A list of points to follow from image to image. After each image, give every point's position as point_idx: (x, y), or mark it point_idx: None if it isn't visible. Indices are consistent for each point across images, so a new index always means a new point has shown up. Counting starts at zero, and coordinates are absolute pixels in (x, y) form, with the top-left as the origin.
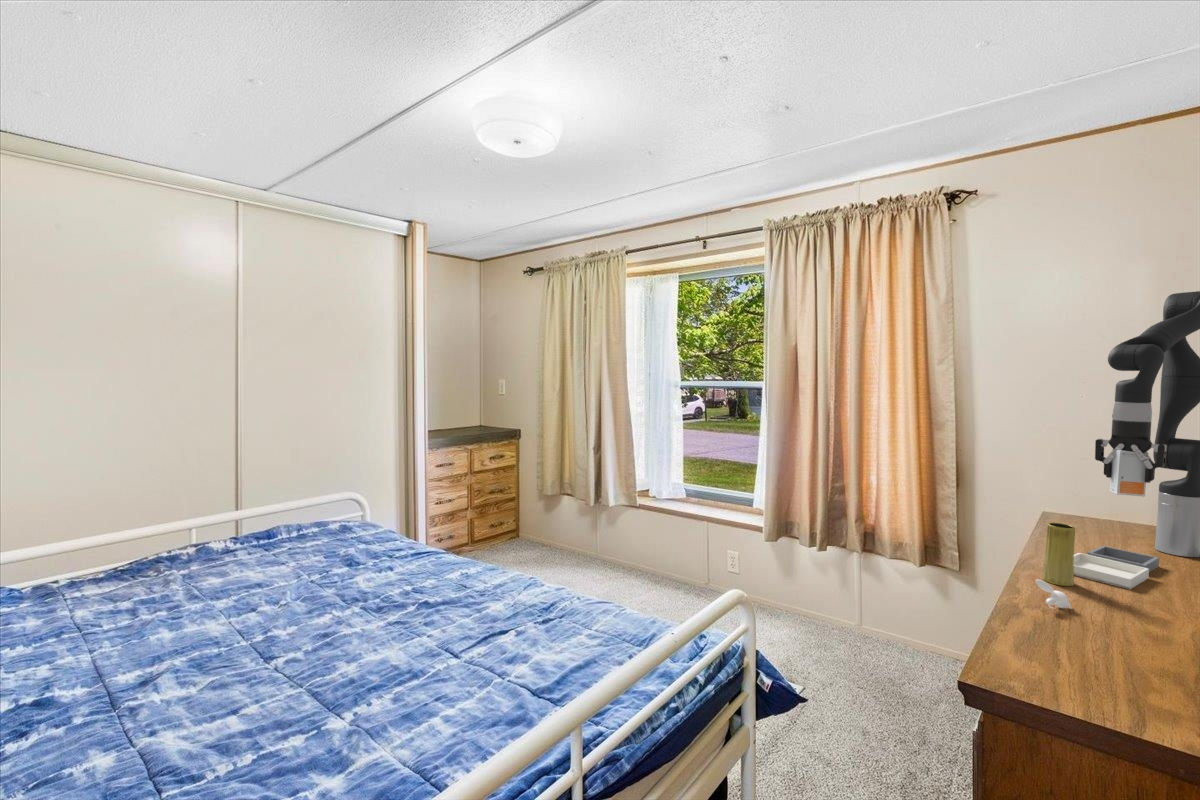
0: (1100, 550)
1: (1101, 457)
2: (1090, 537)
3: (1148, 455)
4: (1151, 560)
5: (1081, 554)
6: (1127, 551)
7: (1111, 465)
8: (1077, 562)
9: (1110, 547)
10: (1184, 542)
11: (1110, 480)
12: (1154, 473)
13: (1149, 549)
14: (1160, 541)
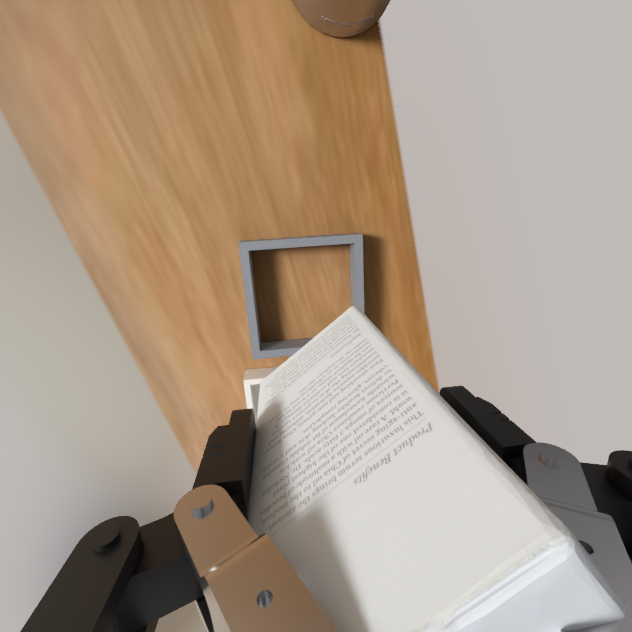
0: (253, 290)
1: (151, 619)
2: (119, 27)
3: (619, 562)
4: (359, 285)
5: (251, 383)
6: (298, 245)
7: (250, 508)
8: (256, 400)
9: (258, 244)
10: (380, 1)
11: (257, 419)
12: (518, 431)
13: (283, 20)
14: (313, 3)
